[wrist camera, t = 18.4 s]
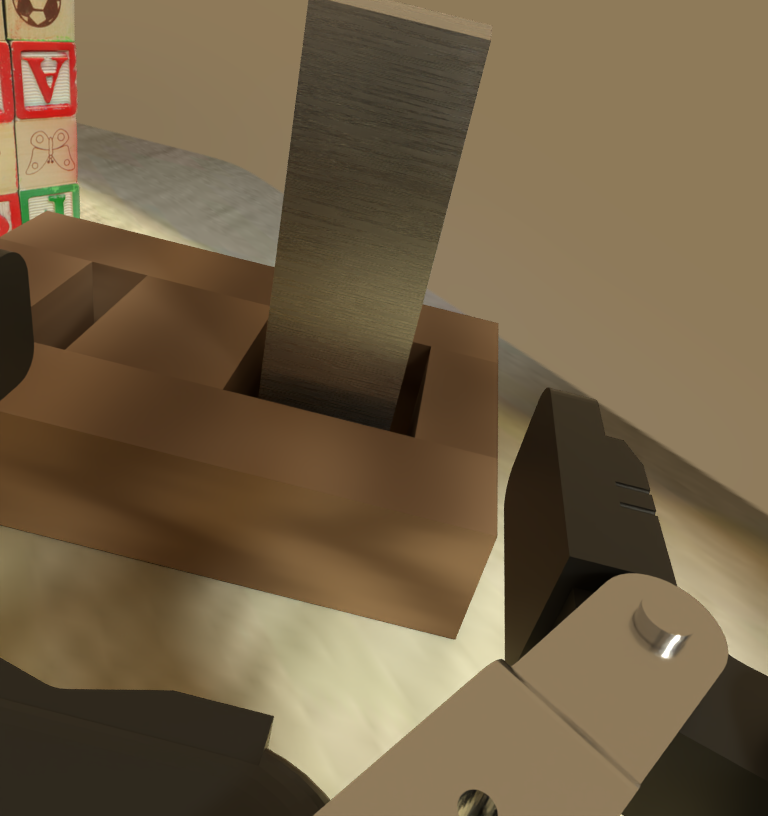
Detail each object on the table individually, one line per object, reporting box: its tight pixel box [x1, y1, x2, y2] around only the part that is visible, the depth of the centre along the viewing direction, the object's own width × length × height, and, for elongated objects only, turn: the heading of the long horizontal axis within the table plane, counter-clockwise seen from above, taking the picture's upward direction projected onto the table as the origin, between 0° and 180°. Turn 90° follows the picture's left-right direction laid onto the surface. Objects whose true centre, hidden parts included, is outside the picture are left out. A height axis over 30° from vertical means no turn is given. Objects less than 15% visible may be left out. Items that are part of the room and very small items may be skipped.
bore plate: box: [0, 211, 498, 639], centre depth 23 cm, size 18×12×4 cm, turn 82°
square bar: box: [258, 0, 492, 431], centre depth 21 cm, size 4×4×14 cm
